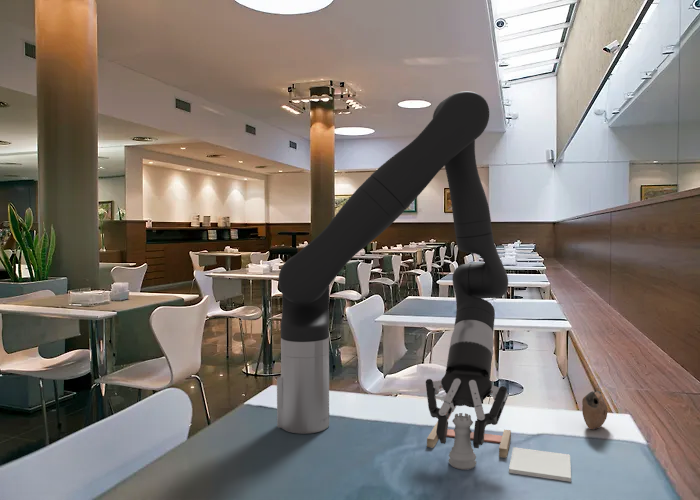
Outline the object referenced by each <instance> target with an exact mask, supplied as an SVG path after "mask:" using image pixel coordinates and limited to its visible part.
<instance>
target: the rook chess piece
mask: <svg viewBox="0 0 700 500" xmlns="http://www.w3.org/2000/svg"><path fill="white" fill-rule="evenodd" d="M452 423H453V424H454V426H455V427H454V429H453V430H454V432H455V437H454V442H453V446H451V450H450V451H449V454H448V457H449V458H448V463H449V465H451V466H450V467H452V468H454V469H456V470H461V471H467V470H472V469H474V468H475V467H476V466H477V461H476V459H477V456H476V455H477V454H476V453H475V452H474V449H473V446H472V441H471V439H470V433H471V432H473V431H472V430H471V426H473V424H474V421H473V420H472V417H471V415H470V414H468V413H464V415H463V412H459V413H455V414H454V418H453V419H452Z"/></svg>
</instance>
